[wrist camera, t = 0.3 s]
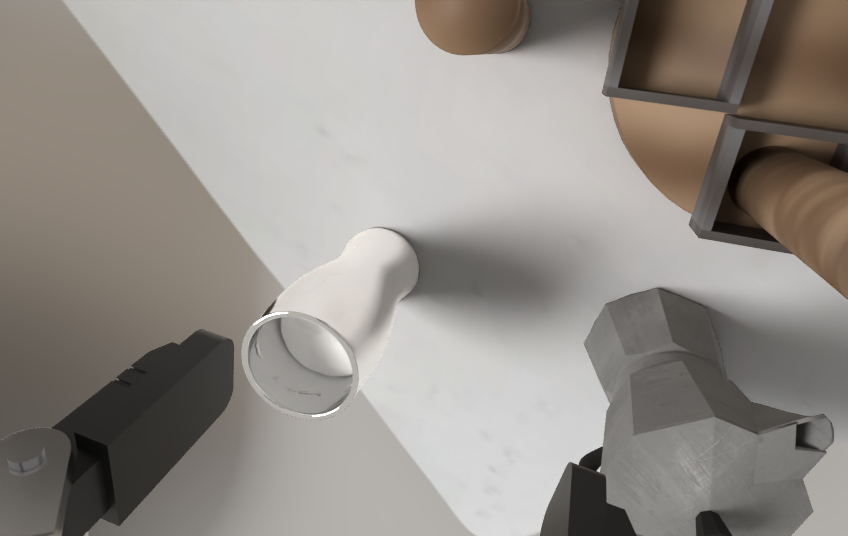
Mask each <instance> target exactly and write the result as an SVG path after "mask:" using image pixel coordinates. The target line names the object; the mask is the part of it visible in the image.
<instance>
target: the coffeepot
mask: <svg viewBox="0 0 848 536" xmlns="http://www.w3.org/2000/svg"><path fill="white" fill-rule="evenodd" d="M584 345H585V347H586V350H587V352H588V354H589V357H590V359H591V361H592V364H593V366H594V369H595V371H596V373H597V376H598V378H599V380H600V383H601V385H602V387H603V389H604V392H605V394H606V396H607V398H608V401H609V403H610V406H609V408H608V410H607V413H606V423H605V432H604V442H603V447H600V448H598V449H596V450H594V451H592V452H590V453H588V454H587V455H585V456H584V457H583V458H581V460H580V462H579V465H580V466H583V467H585V468H588V469H591V470H594V471H597V469H598V468H599V467H600V466H601V470H600V473H602V474H604V475H605V476H606V490H607V503H609V504H611V505H614V506H617V507H619V508H622V509H625V511H626V513H627V515H628V517H629V520H630V522H631V524H632V526H633V528H634V531H635V533H636V535H637V536H791V535H792V534H793V533H794V532H795V531H796V530H797V529H798V528H799V526H800V525H801V524H802V523H803V522H804V521H805V520H806V519H807V518H808V517H809V516H810V515H811V513H813V509H812V506H811V503H810V500H809V497H808V494H807V491H806V488H805V485H804V481H803V478H804V477H805V476H806V474H807V473H808V472H809V471H810V470H811V469H812V468H813V467H814V466H815V465H816V464H817V463H818V462H819V460H820V459H821V458H822V457H823V456H824V455H825V454H826V451H825V450H826V449H827V448H828V447H829V446H830V445H831V444H832V443H833V442H834V430H833V426H832V423H831V422H830V420H829V419H828V418H827V417H826V416H825V415H824V414H821V415H817V416H812V417H811V416H803V415H798V414H794V413H789V412H785V411H781V410H778V409H775V408H771V407H768V406H764V405H761V404H757V403H754V402H751V401H750V400H749V399H748V398H747V397H746V396H745V395H744V394H743V393H742V392H741V391H740V389H739V388H738V387H737V386H736V385H735V384H734V383H733V382H732V381H731V380H729V379H727V376H726V371H725V366H724V361H723V356H722V351H721V348H720V345H719V343H718V340H717V337H716V334H715V331H714V328H713V325H712V322H711V320H710V317H709V314H708V311H707V308H706V307H703V306H701V305H698V304H696V303H693V302H691V301H689V300H687V299H685V298H683V297H681V296H679V295H675V294H672V293H669V292H666V291H663V290H661V289H658V288H655V289H651V290H647V291H644V292H639V293H635V294H630V295H628V296H626V297H623V298H621V299H619V300H617V301H614V302H611V303H607V304H606V305H605V307H604V308H603V310H602V312H601V314H600V315H599V317H598V318H597V319H596V321H595V322H594V325H593V327H592V329H591V332H590V334H589V335H588V337H587V339H586V341H585V342H584Z"/></svg>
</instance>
